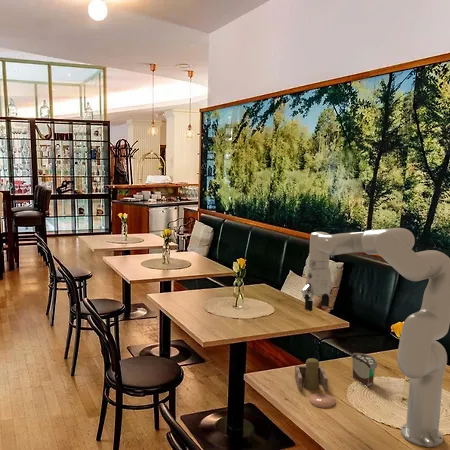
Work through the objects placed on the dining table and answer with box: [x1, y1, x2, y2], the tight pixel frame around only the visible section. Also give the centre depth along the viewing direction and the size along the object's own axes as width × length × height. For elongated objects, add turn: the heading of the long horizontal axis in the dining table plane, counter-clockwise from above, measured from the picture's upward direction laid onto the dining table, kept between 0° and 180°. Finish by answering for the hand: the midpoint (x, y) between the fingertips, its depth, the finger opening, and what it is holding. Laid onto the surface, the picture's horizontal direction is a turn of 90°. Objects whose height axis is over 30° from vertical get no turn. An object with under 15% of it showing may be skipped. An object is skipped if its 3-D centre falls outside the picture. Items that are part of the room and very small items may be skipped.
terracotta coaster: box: [309, 392, 336, 409], centre depth 174 cm, size 9×9×1 cm
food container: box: [351, 352, 378, 388], centre depth 191 cm, size 12×6×10 cm, turn 22°
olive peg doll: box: [303, 357, 320, 391], centre depth 186 cm, size 6×6×11 cm
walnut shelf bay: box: [294, 365, 329, 392], centre depth 188 cm, size 11×11×5 cm
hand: (316, 308), depth 184 cm, fingers open, 9 cm apart
